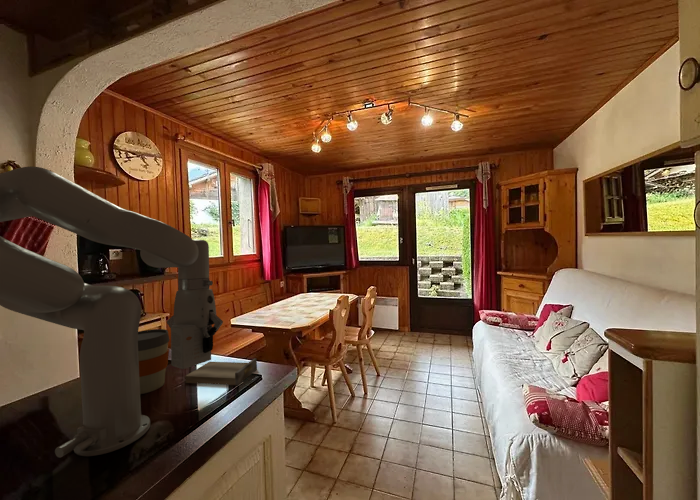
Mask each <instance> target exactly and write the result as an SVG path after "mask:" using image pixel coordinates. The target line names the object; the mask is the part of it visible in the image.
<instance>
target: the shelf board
mask: <svg viewBox="0 0 700 500" xmlns="http://www.w3.org/2000/svg"><path fill="white" fill-rule="evenodd" d="M257 360H258V359H257V358H253V359H251V360H250V361H249V362H239V361H237V362H235V361H234V362H233V361H207V362H206V363H205V364H202V366H199V367H198V368H197V369H195V370H193V371H191V372H190V373H187V374H186V375H185V376H184V378H185V383H186V384H198V385H199V384H201V385H202V384H203V385H205V384H206V385H220V386H222V385H224V386H239V385H240V384H241V383H243V382H244V381H245V380H246V379H248V378H249V377H250V376H251V375H252V374H254V373H255V372H256V371H257V370H258V363H257V362H258V361H257Z"/></svg>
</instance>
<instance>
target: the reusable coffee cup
mask: <svg viewBox="0 0 700 500" xmlns="http://www.w3.org/2000/svg"><path fill="white" fill-rule="evenodd" d="M169 342H170V336H169V331H168V330H167V329H165V328H164V329H162V328H157V329H156V328H155V329H145V330H138V359H139V379H140V395H143V394H147V393H150V392H155V391H157V390H158V389H160V388H161V387H163V386H164V385H165V379H166V369H167V367H168V365H169V356H170V355H169V352H170V350H169V349H168V347H169Z"/></svg>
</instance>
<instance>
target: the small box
mask: <svg viewBox="0 0 700 500" xmlns="http://www.w3.org/2000/svg"><path fill="white" fill-rule="evenodd" d="M207 325H208V324H207ZM207 329H208V328H207ZM203 338H205V336H204V334H203V331H202V329H201V328H197V327H196V325H184V324H179V325H173V326H171V327H170V347H171V348H170V349H171V350H170V352H171V353H170V355H171V357H170V358H171V359H170V361H171V363H170V364H171V366H172V367H175V368H178V369H181V370H186V369H188V368H190V367H194V366H197V365H200V364H203V363H205V362H206V363H207V362H210V361H212V350H211V351H209V352H207V353H204V352H203Z"/></svg>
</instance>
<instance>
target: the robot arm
mask: <svg viewBox="0 0 700 500" xmlns="http://www.w3.org/2000/svg"><path fill="white" fill-rule="evenodd" d="M29 217H31V218H32V217H34V218H37V219H39V220H42V221H44V222H47V223H49V224H51V225H54V226H56V227H59V228H61V229H64V230H67V231H68V232H71V233H73V234H75V235H78V236H80V237H83V238H85V239H87V240H89V241H91V242H95V243H98V244H103V245H107V246H114V247H122V248H123V247H124V248H129V249H134V250H139V251H140V252H139V253H140V254H139V255H140V258H141V260H142V262H144V263H145V264H146V265H148V266H150V267H152V268H158V269H159V268H160V269H166V268H167V269H168V268H177V285H178V287H177V288H178V289H177V290H176V293H175V297H174V303H173V304H174V305H173V315H172V316H171V317H169V319H167V320H166V324H167V326H168V327H169V328H171V326H173V325H179V324H184V325H196V327H197V328H201V329H202V331H203V334H204V336H205V338H203V352H204V353H207V352H209V351H211V352H212V351H213V349H214V336H215V335H216V333H217V332H218V331H219V329H220V328H221V326H222V325H223V324H224V321H223V320H222V319H221V318H220V317H219V316H218V315H217V307H216V300H215V294H214V292H213V289H212V288H211V287H210V286H213V280H210V247H209V242H208V241H207V240H204V239H199V238H198V239H196V238H195V239H192V238H191V237H190V236H188V235H187V234H185V233H184V232H183V231H181V230H179V229H177V228H176V227H173V226H171V225H169V224H167V223H165V222H162V221H160V220H157V219H154V218H152V217H149V216H146V215H143V214H140V213H138V212H135V211H131V210H130V209H125V208H122V207H121V206H118V205H116V204H114V203H112V202H110V201H108V200H107V199H105V198H103V197H102V196H99V195H97V194H96V193H94V192H92V191H90V190H88V189H87V188H85V187H82V186H81V185H79V184H77V183H75V182H73V181H71V180H69V179H68V178H66V177H64V176H62V175H61V174H58V173H56V172H54V171H52V170H49V169H47V168H44V167H40V166H23V167H18V168H15V169H11V170H8V171H6V172H0V222H1V223H2V222H8V221H13V220H18V219H24V218H29ZM210 288H211V289H210ZM0 306H1V307H3V308H4V309H7V310H9V311H12V312H15V313H18V314H22V315H25V316H28V317H31V318H34V319H38V320H42V321H45V322H49V323H52V324H55V325H58V326H62V327H65V328H69V329H75V330H80V331H81V330H82V331H83V337H82V341H81V344H80V351H79V370H80V371H79V373H80V387H81V388H80V390H81V405H82V406H81V407H82V409H81V410H82V425H80V426H79V427H77V429H76V432H77V434H75V435H74V436H73V438H71V439H70V440H68V441H66V442H64V443H62V444H61V445H59V446H57V447H56V448H55V450H54V453H55V456H56V457H57V458H63V457H64V456H66V455H68V454H69V453H71V452H72V451H73V452H74V454H76V455H77V456H80V457H95V456H100V455H106V454H108V453H112V452H114V451H117V450H120V449H122V448H125V447H126V446H128V445H131V444H133V443H134V442H136V441H137V440H139V439H140V438H141V437H143V436H144V435H145V434H146V433H147V432H148V430H149V429H150V427H151V419H150V417H149V416H147V415H145V414H142V407H141V406H142V404H141V403H142V402H141V394H140V379H139V359H138V332H139V328H140V321H141V316H142V305H141V301H140V300H139V298H138V296H137V295H136V294H135V293H134V292H133V291H131V290H130V289H128V288H125V287H122V286H117V285H92V284H89V283H86V282H84V280H83V278H82V276H81V275H80V274H79V272H78V271H76V270H75V269H74V268H72V267H70V266H69V265H66V264H63V263H60V262H57V261H56V260H53V259H50V258H48V257H46V256H43V255H41V254H38V253H36V252H34V251H31V250H29V249H27V248H24V247H22V246H21V245H18V244H16V243H14V242H13V241H11V240H8V239H6V238H4V237H3V236H1V235H0ZM207 324H208V325H207ZM207 328H208V329H207Z"/></svg>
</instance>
